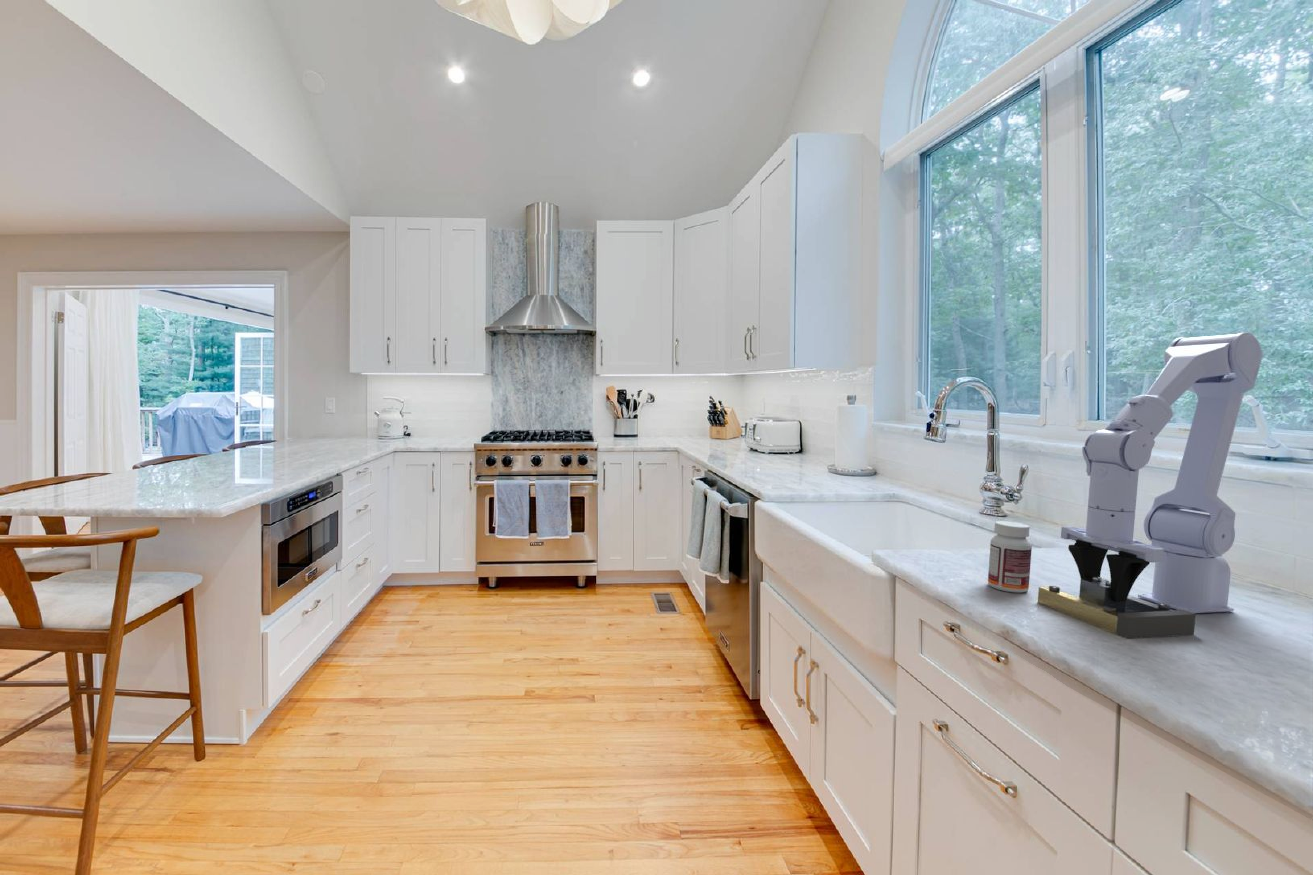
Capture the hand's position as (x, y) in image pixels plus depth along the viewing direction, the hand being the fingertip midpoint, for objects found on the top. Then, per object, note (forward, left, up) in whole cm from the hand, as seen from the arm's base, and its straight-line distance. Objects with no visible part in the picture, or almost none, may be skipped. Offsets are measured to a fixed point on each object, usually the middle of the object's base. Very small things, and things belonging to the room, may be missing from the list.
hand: (1103, 595), depth 89 cm
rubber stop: (0, +8, -3) cm, 8 cm away
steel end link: (-5, 0, -3) cm, 6 cm away
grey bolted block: (0, 0, -3) cm, 3 cm away
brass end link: (+5, 0, -3) cm, 6 cm away
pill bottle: (+5, -13, -3) cm, 14 cm away
